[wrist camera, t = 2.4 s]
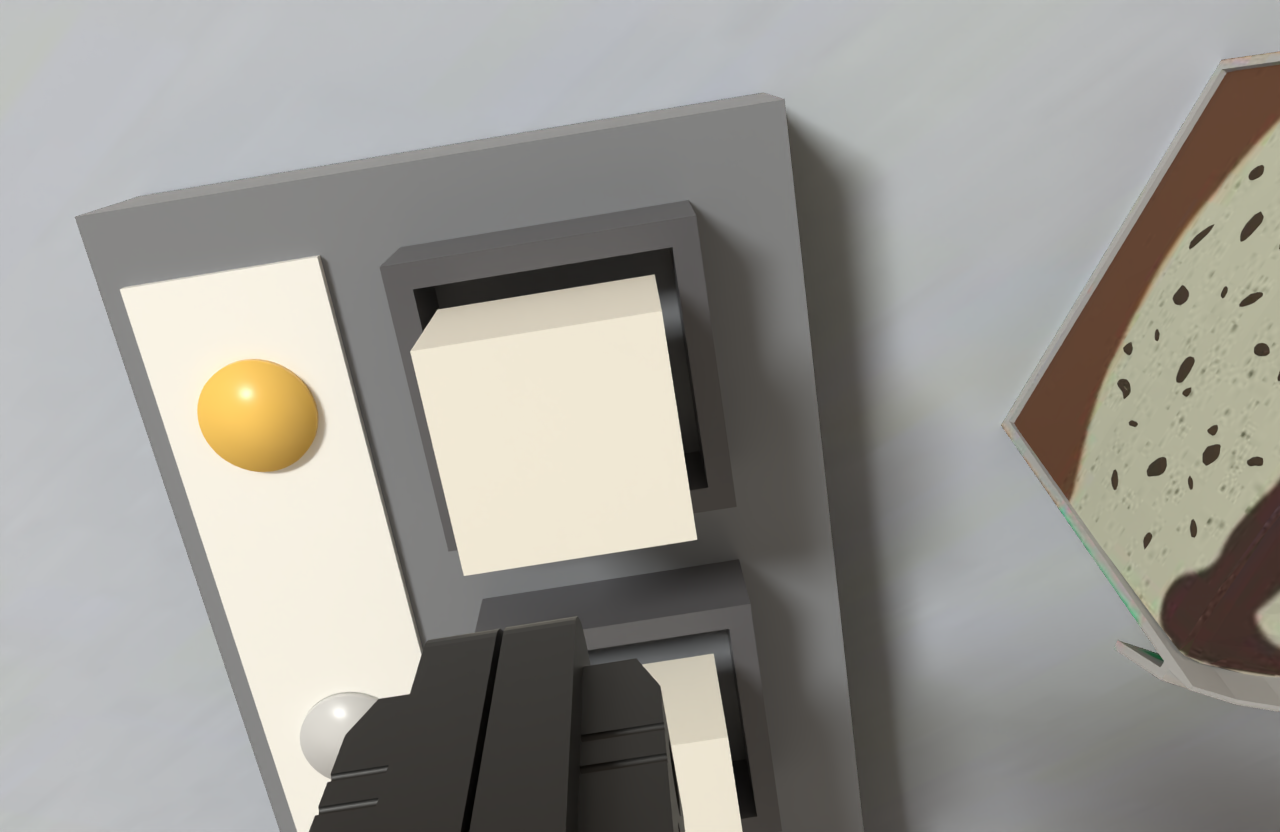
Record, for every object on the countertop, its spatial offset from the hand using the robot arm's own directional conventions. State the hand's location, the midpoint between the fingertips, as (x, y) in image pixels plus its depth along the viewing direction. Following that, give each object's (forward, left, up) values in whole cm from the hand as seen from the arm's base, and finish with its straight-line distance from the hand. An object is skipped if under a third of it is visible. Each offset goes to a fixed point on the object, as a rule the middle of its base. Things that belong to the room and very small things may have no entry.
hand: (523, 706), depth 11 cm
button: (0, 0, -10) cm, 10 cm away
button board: (+2, +8, -15) cm, 17 cm away
